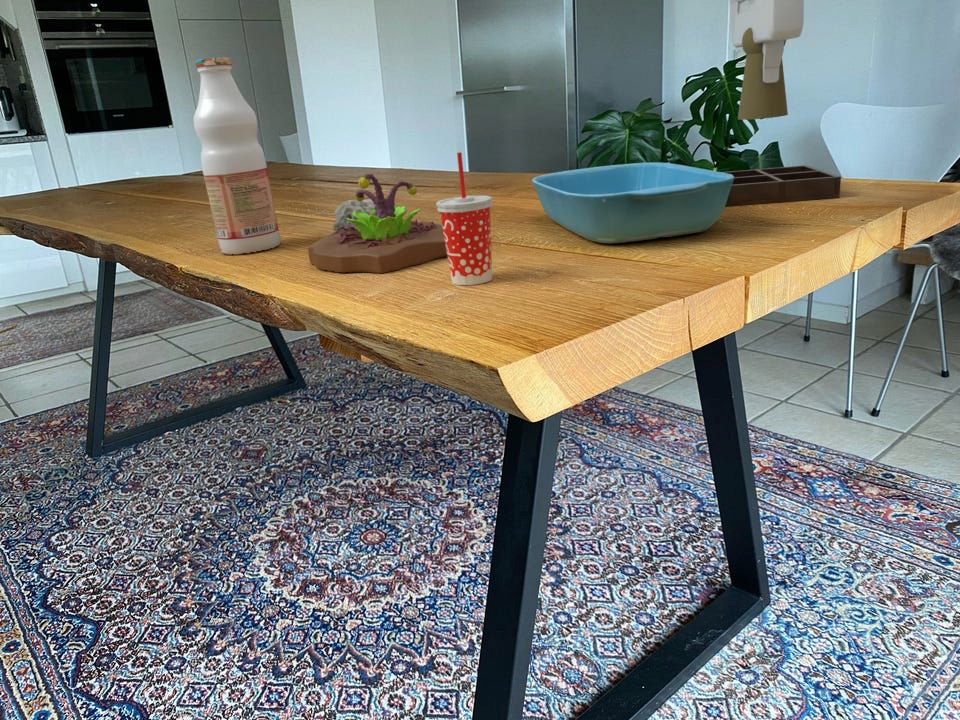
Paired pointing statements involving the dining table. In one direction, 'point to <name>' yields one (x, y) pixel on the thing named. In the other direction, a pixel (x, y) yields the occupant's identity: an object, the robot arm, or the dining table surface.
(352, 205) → the decorative stone
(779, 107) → the cork
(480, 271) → the beverage cup
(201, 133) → the fruit juice
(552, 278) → the dining table surface
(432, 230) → the plant
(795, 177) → the compartment tray
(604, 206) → the casserole dish
